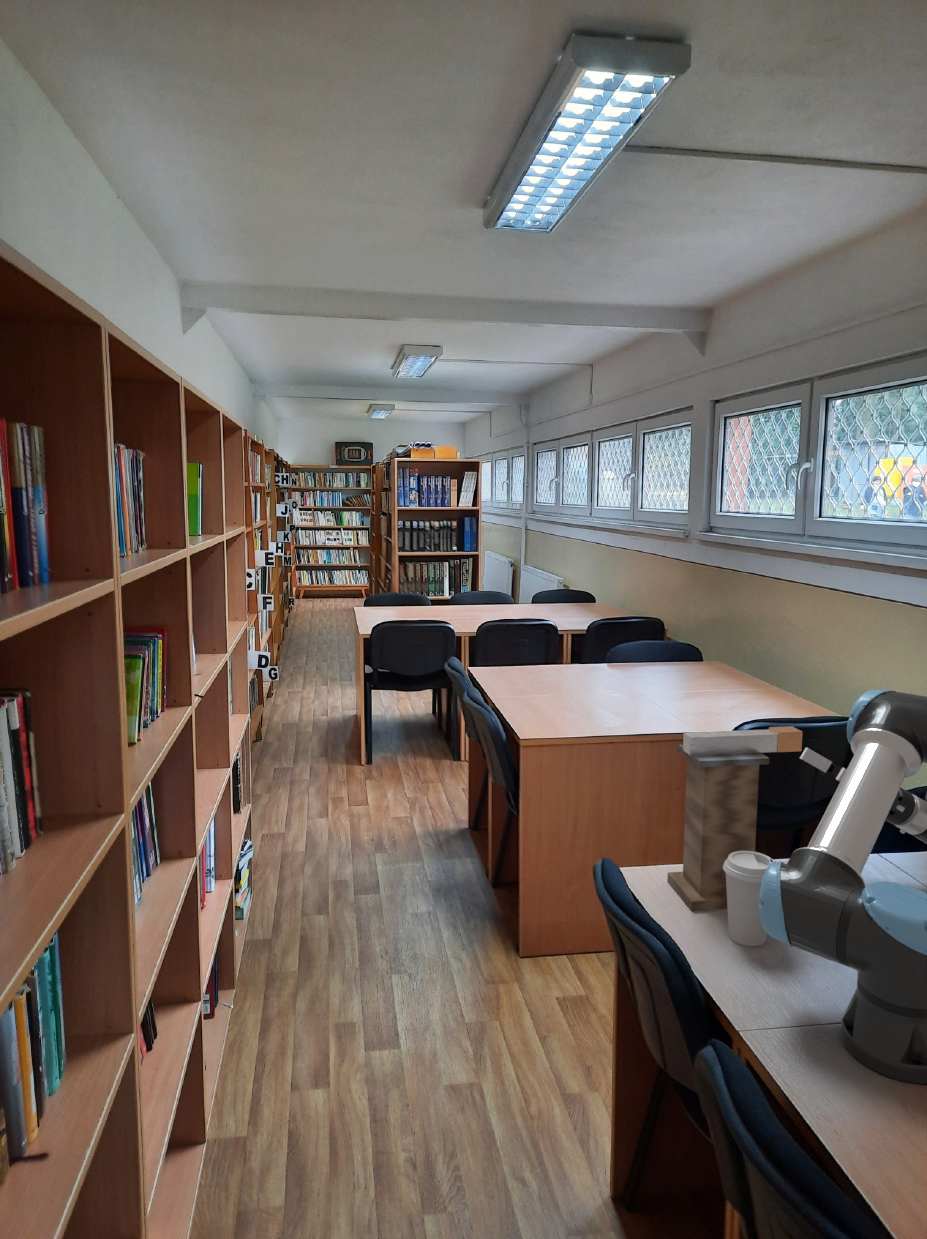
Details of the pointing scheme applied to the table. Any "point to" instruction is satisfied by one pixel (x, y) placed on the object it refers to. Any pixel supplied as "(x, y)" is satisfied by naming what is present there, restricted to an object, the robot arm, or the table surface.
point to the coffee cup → (745, 896)
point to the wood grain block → (743, 741)
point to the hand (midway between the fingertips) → (821, 762)
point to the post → (716, 823)
